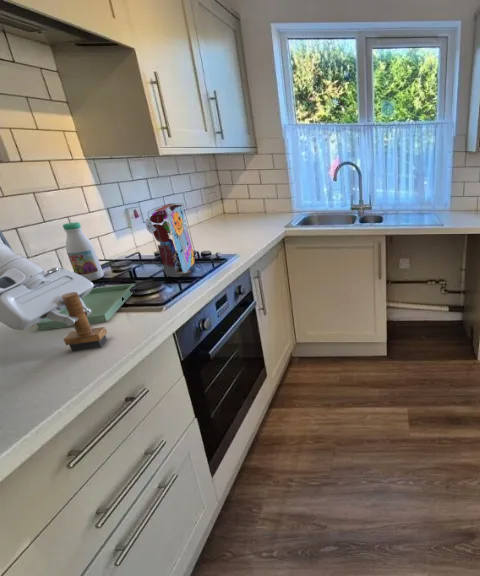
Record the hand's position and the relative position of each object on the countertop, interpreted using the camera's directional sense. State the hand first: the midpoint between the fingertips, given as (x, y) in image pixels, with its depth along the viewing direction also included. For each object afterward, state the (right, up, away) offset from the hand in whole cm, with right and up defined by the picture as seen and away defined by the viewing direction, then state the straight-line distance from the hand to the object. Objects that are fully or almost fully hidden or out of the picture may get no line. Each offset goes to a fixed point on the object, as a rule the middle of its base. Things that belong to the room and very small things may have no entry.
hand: (81, 318), depth 84 cm
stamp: (0, -7, +3) cm, 7 cm away
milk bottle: (-35, +10, +46) cm, 59 cm away
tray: (-16, +1, +23) cm, 28 cm away
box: (-3, +11, +44) cm, 46 cm away
